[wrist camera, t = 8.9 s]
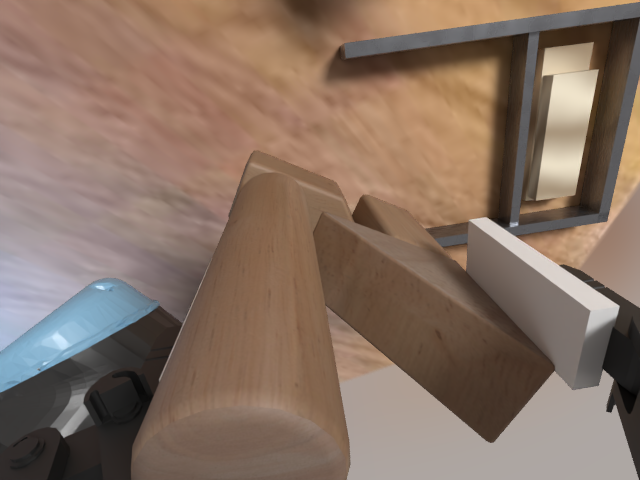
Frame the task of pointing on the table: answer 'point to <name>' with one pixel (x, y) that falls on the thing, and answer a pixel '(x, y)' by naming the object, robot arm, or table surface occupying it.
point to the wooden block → (321, 335)
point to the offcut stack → (558, 121)
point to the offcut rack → (610, 124)
